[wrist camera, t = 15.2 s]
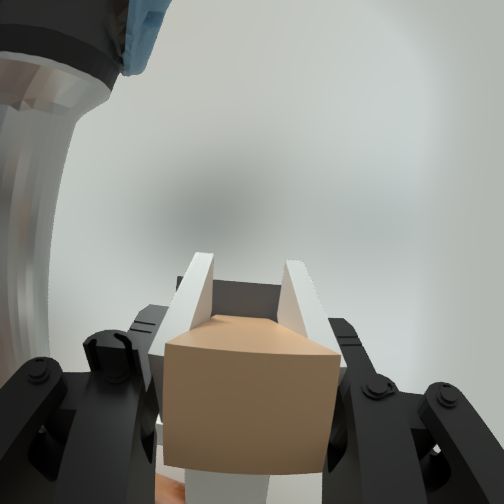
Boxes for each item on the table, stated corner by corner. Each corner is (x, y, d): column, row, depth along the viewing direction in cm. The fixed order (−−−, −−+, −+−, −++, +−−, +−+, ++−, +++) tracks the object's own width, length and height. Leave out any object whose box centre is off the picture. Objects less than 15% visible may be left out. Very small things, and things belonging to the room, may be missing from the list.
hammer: (424, 452, 4) (449, 252, 5) (54, 431, 4) (61, 218, 5) (287, 345, 23) (291, 291, 24) (190, 337, 23) (194, 283, 23)
